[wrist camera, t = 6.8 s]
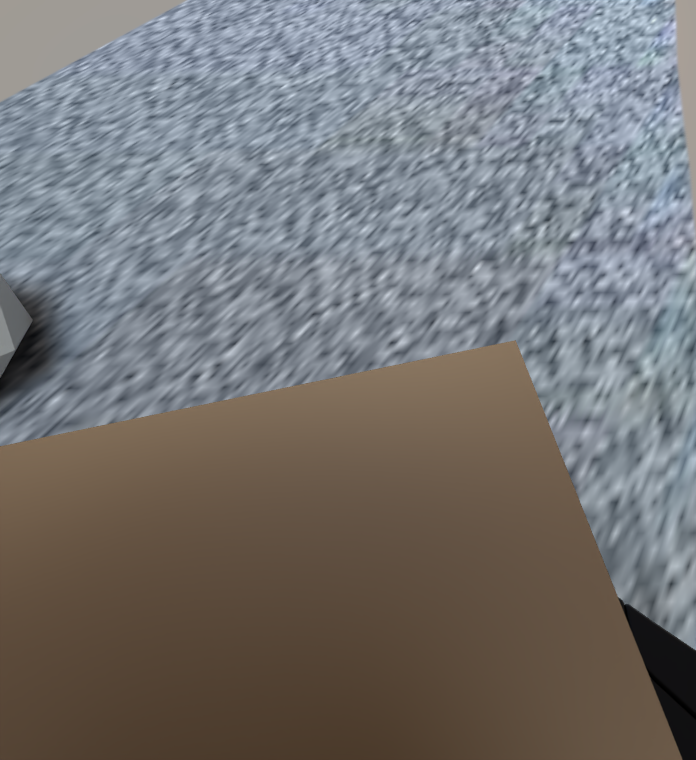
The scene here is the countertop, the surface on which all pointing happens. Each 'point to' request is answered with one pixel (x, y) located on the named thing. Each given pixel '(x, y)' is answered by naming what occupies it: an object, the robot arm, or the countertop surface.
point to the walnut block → (317, 582)
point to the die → (10, 323)
